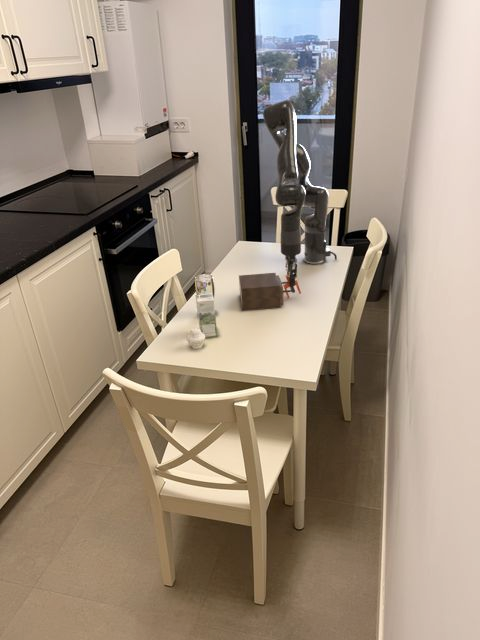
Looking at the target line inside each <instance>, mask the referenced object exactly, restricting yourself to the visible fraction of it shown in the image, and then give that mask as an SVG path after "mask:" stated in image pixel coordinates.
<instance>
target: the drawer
mask: <svg viewBox="0 0 480 640" xmlns="http://www.w3.org/2000/svg"><path fill="white" fill-rule="evenodd" d="M276 276H277V279H278V281H279V284H280V306H281V305H284V293H286V292H288V293H292V294H294V293H296V289H295V286H292V287H289V289H287V290H285V289H284V286H283V285H284V284H287V283H288V282H287V281H282V280H281V277H280V275H279V274H276Z"/></svg>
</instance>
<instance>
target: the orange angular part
mask: <svg viewBox="0 0 480 640" xmlns="http://www.w3.org/2000/svg"><path fill="white" fill-rule="evenodd" d="M285 278H286V282H288V283H287V284H282V286H283V290H284V291H285V290H288V289H290V287H292V286H289V275H287V274H286V275H285ZM295 286H296V289H297V292H298V294H299V295H300V294H302V291H301V288H300V286H299V282H298V280H297V279H295ZM285 295H286V298H287V299H289V298H290V294H289V292H285Z"/></svg>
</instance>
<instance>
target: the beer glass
mask: <svg viewBox="0 0 480 640" xmlns="http://www.w3.org/2000/svg"><path fill="white" fill-rule="evenodd" d="M194 285H195V295H200V294H208V293H212V296H213V299H214V300H215V296H216V295H215V294H216V291H215V290H216V288H215V287H216V286H215V281H214V276H213V275H212V274H210V273H209V274H208V273H202V274H197V275H196V276H195V277H194ZM215 315H217V311H216V310H215Z"/></svg>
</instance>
